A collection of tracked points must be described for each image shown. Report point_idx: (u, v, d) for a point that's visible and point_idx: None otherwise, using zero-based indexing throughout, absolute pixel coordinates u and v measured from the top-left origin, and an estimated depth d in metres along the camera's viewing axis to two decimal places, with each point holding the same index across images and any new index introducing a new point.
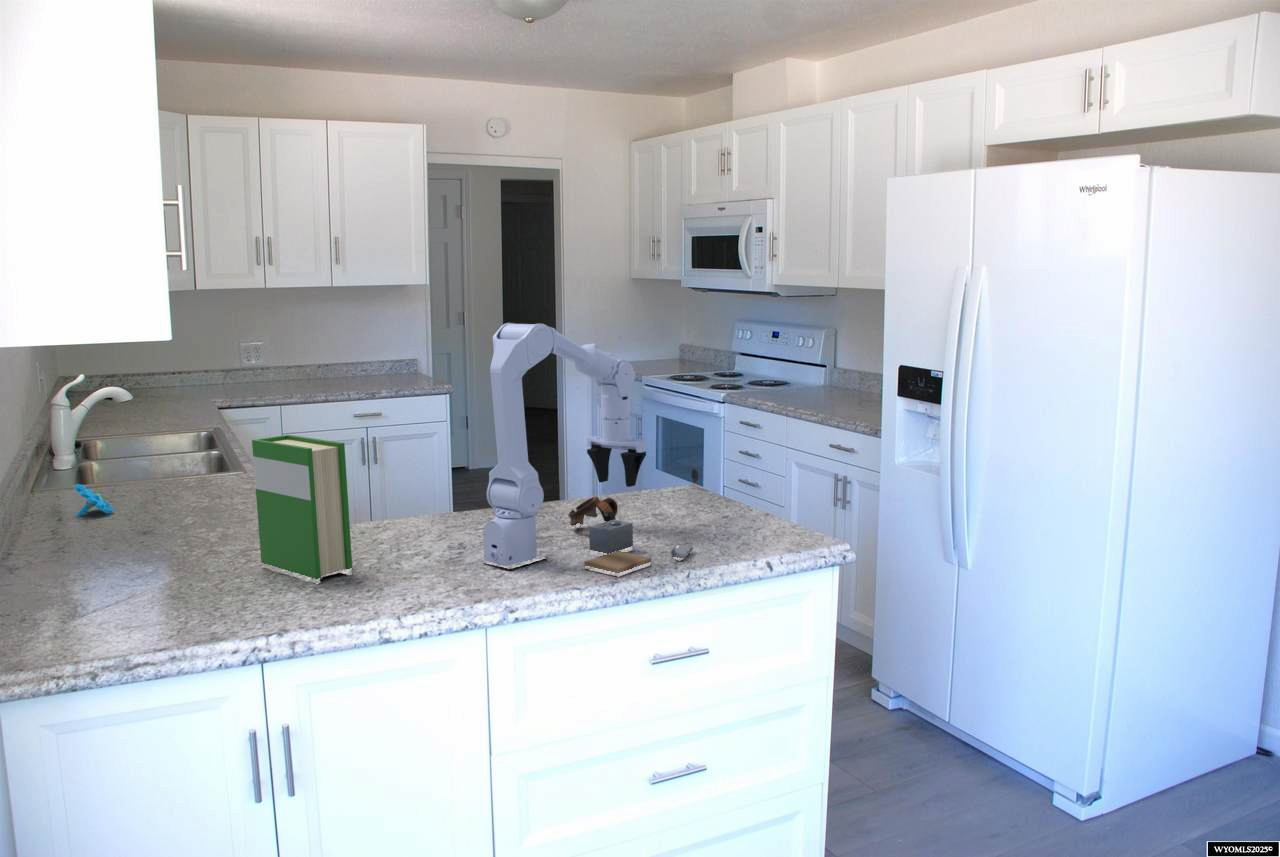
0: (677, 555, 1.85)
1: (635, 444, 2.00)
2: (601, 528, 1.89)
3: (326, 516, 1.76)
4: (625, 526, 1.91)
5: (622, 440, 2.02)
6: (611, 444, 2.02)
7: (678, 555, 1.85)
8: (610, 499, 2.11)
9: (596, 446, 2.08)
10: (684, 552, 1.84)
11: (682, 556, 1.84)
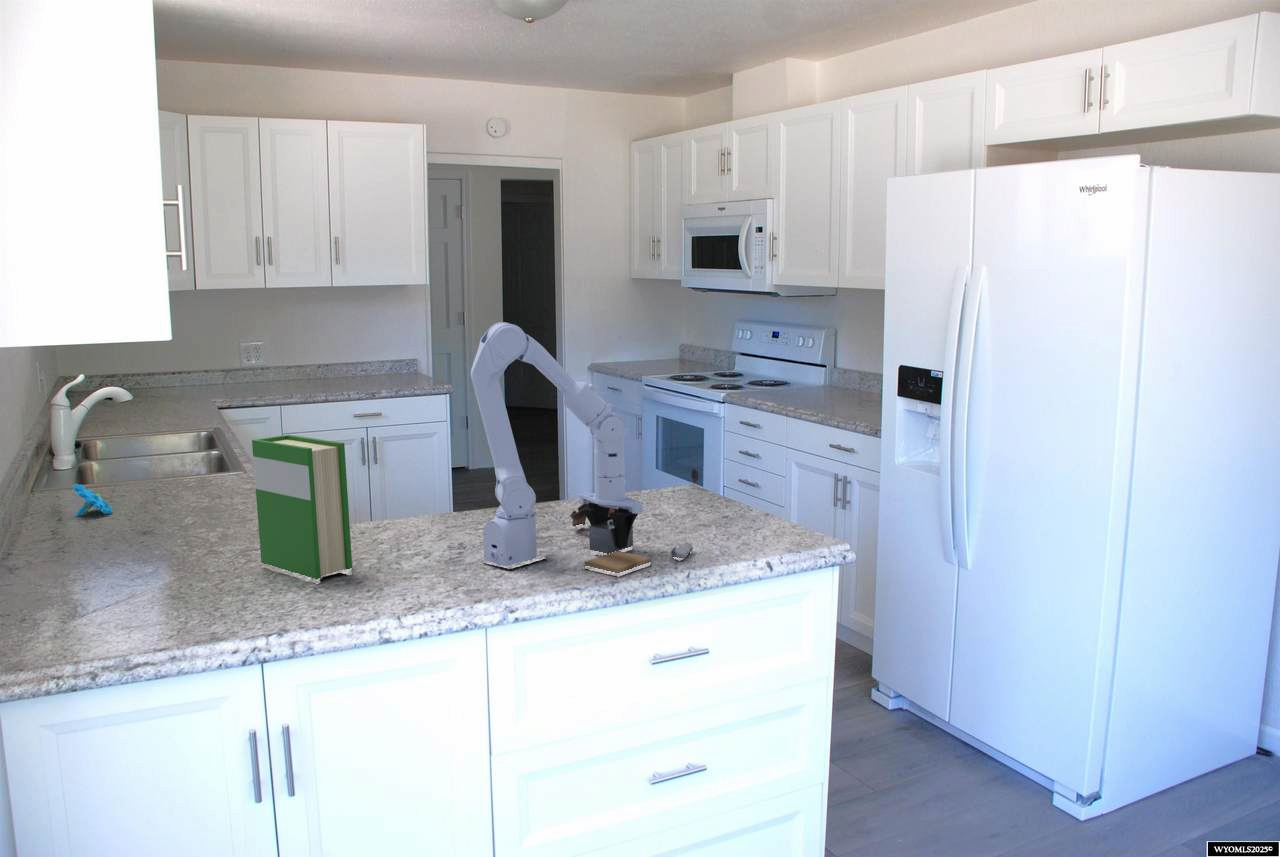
0: (677, 555, 1.85)
1: (631, 504, 1.86)
2: (601, 527, 1.89)
3: (326, 516, 1.76)
4: None
5: (617, 499, 1.88)
6: (605, 504, 1.88)
7: (678, 555, 1.85)
8: None
9: (589, 504, 1.93)
10: (684, 552, 1.84)
11: (682, 556, 1.84)
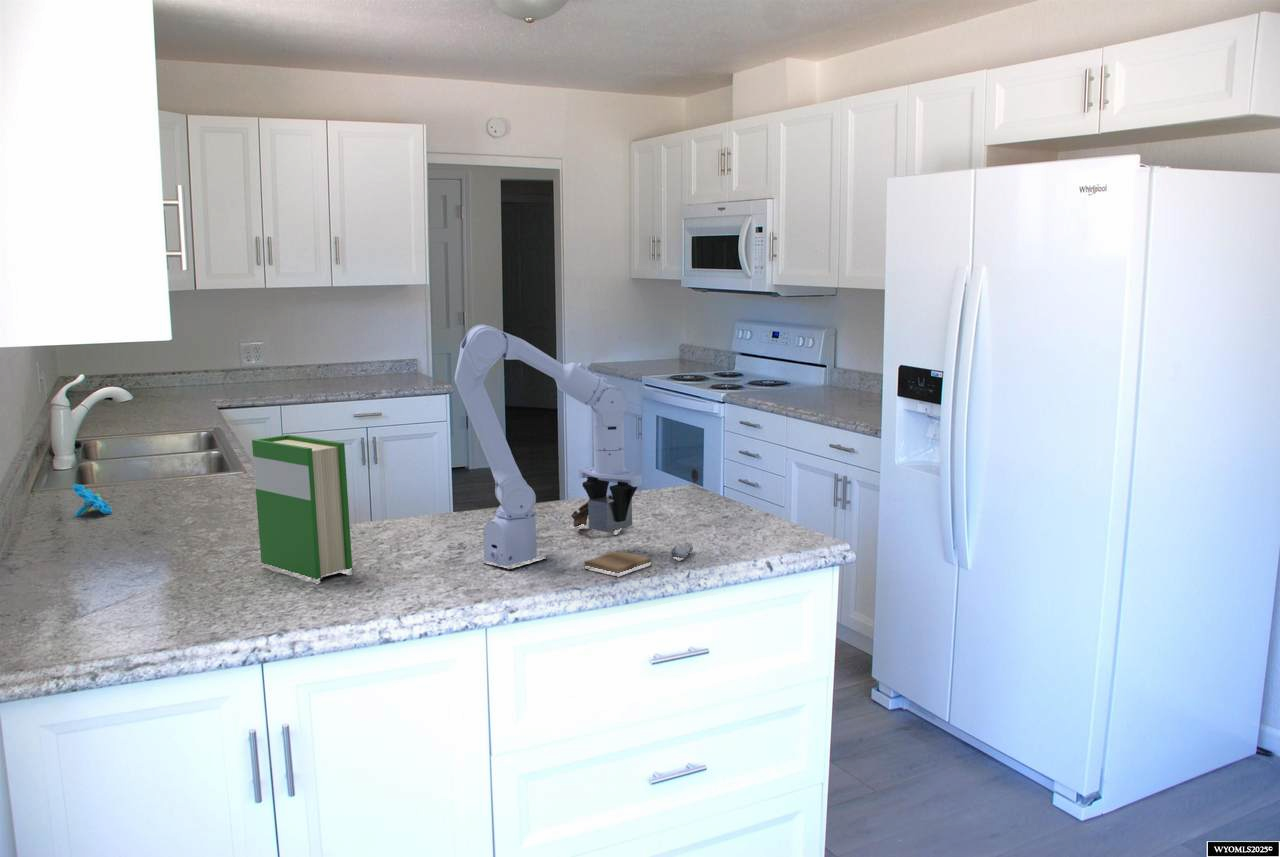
0: (677, 555, 1.85)
1: (630, 477, 1.85)
2: (600, 501, 1.88)
3: (326, 516, 1.76)
4: None
5: (616, 473, 1.87)
6: (604, 477, 1.87)
7: (678, 555, 1.85)
8: None
9: (588, 478, 1.92)
10: (684, 552, 1.84)
11: (682, 556, 1.84)
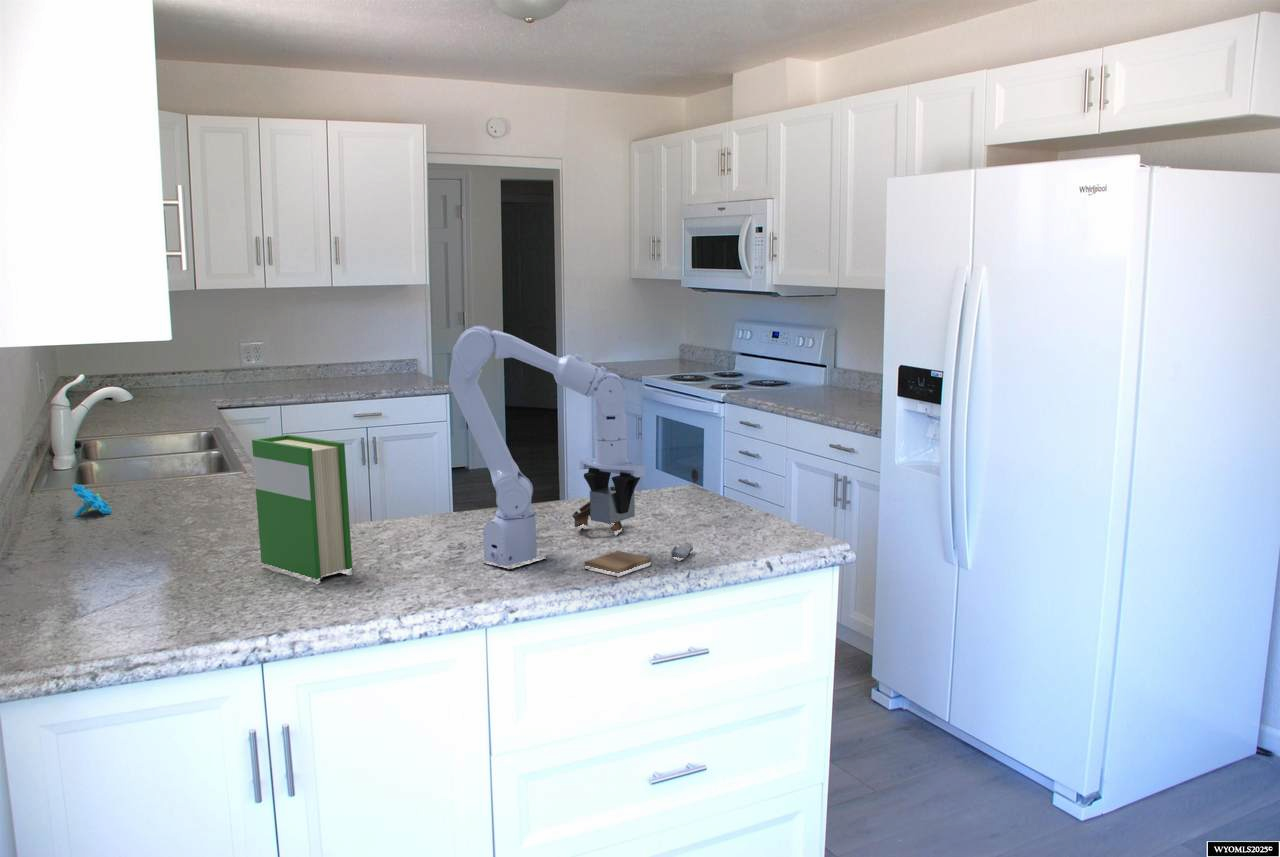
0: (677, 555, 1.85)
1: (633, 468, 1.81)
2: (602, 492, 1.84)
3: (326, 516, 1.76)
4: None
5: (618, 463, 1.83)
6: (606, 468, 1.83)
7: (678, 555, 1.85)
8: None
9: (589, 469, 1.88)
10: (684, 552, 1.84)
11: (682, 556, 1.84)
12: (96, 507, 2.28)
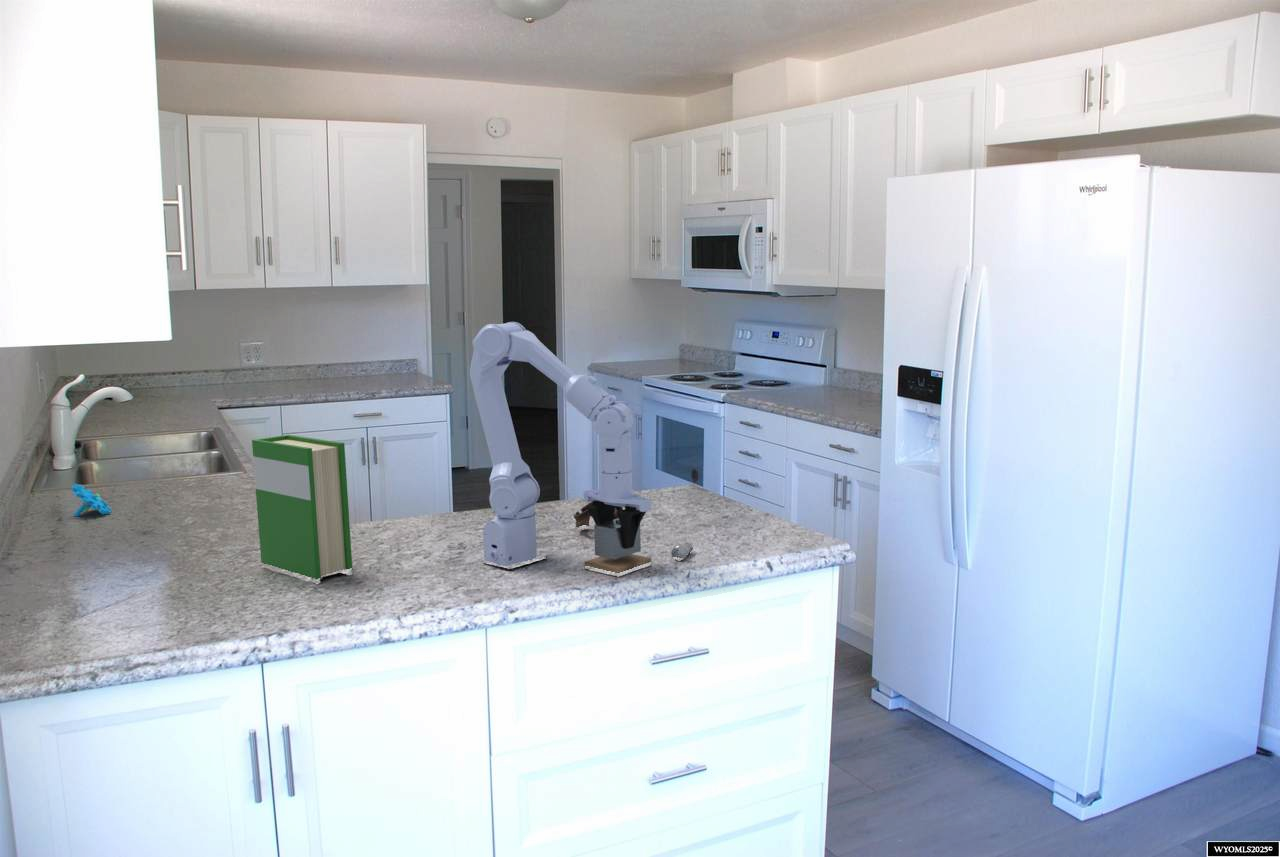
0: (677, 555, 1.85)
1: (638, 502, 1.75)
2: (607, 527, 1.78)
3: (326, 516, 1.76)
4: None
5: (623, 497, 1.77)
6: (611, 501, 1.77)
7: (678, 555, 1.85)
8: None
9: (594, 502, 1.82)
10: (684, 552, 1.84)
11: (682, 556, 1.84)
12: (95, 507, 2.28)
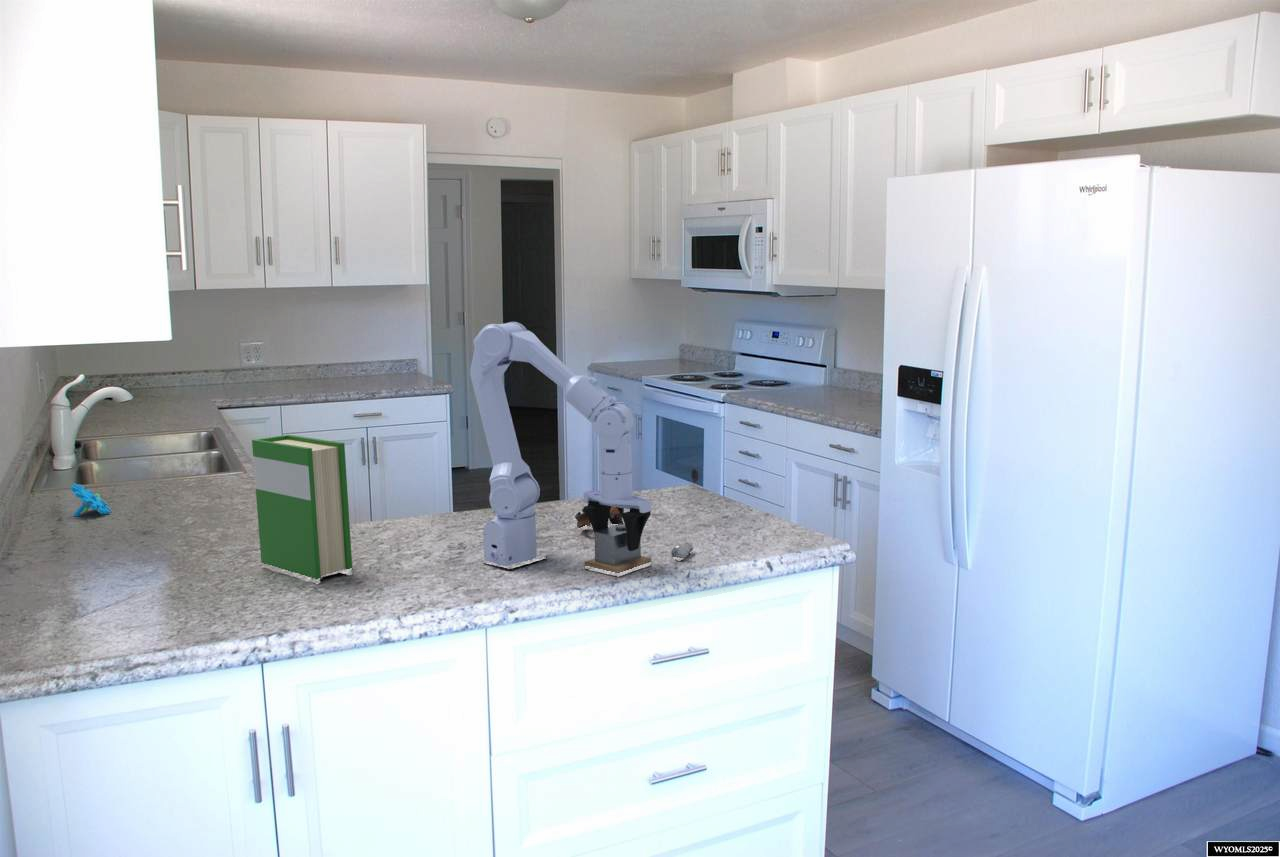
0: (677, 555, 1.85)
1: (638, 503, 1.75)
2: (607, 533, 1.78)
3: (326, 516, 1.76)
4: None
5: (623, 498, 1.77)
6: (611, 502, 1.77)
7: (678, 555, 1.85)
8: None
9: (594, 503, 1.82)
10: (684, 552, 1.84)
11: (682, 556, 1.84)
12: (94, 507, 2.28)
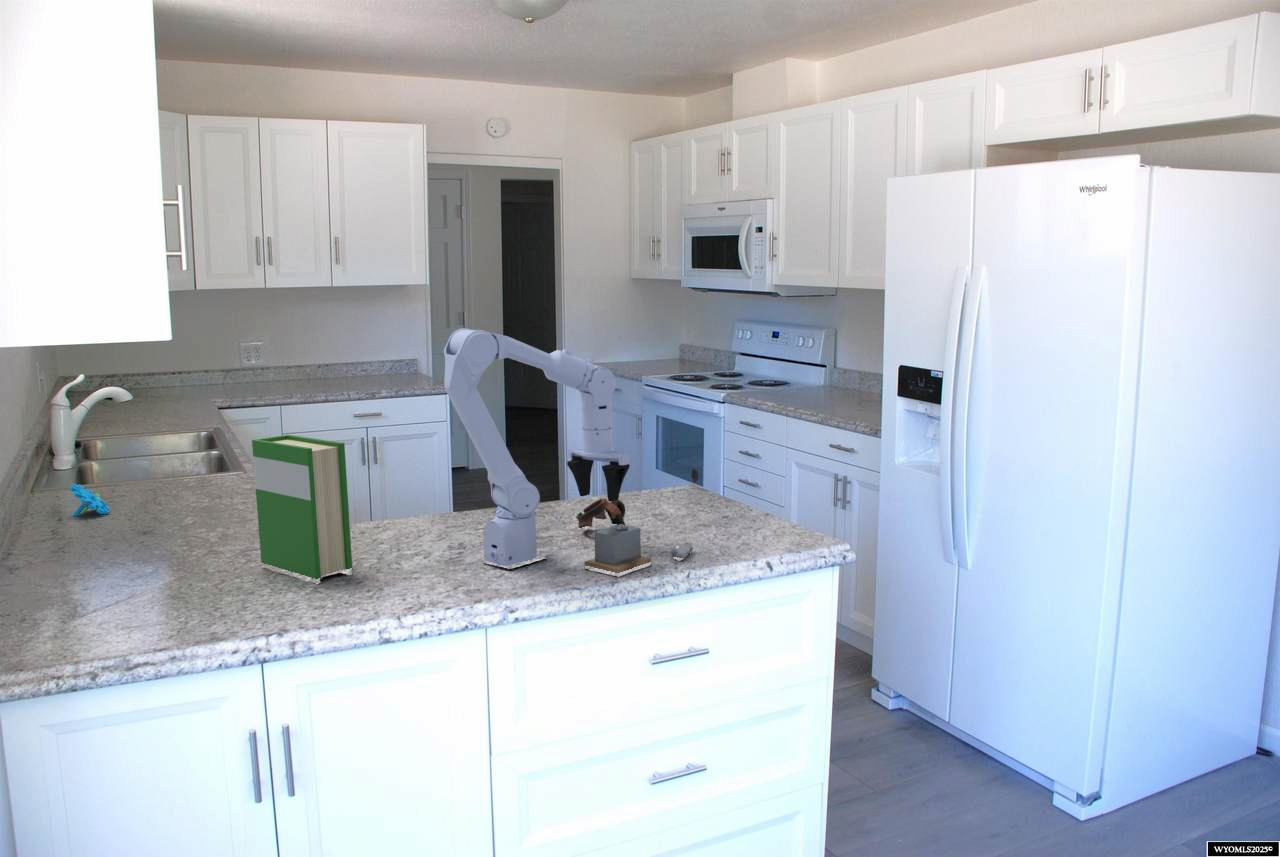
0: (677, 555, 1.85)
1: (617, 456, 1.88)
2: (607, 533, 1.78)
3: (326, 516, 1.76)
4: (632, 531, 1.80)
5: (604, 452, 1.90)
6: (592, 456, 1.90)
7: (678, 555, 1.85)
8: (618, 501, 2.09)
9: (577, 458, 1.95)
10: (684, 552, 1.84)
11: (682, 556, 1.84)
12: (93, 507, 2.28)
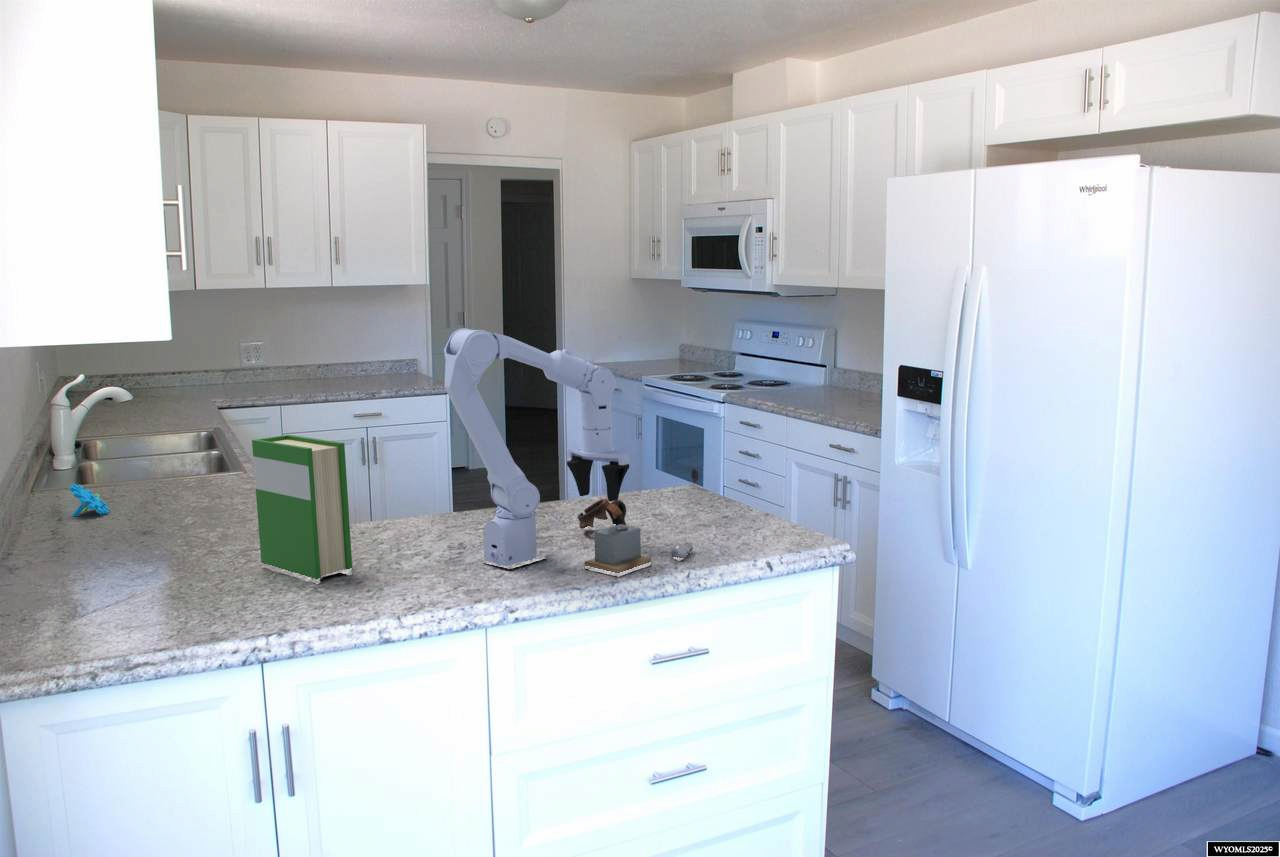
0: (677, 555, 1.85)
1: (617, 456, 1.88)
2: (607, 533, 1.78)
3: (326, 516, 1.76)
4: (632, 531, 1.80)
5: (604, 452, 1.90)
6: (592, 456, 1.90)
7: (678, 555, 1.85)
8: (619, 501, 2.09)
9: (576, 458, 1.95)
10: (684, 552, 1.84)
11: (682, 556, 1.84)
12: (92, 507, 2.28)
